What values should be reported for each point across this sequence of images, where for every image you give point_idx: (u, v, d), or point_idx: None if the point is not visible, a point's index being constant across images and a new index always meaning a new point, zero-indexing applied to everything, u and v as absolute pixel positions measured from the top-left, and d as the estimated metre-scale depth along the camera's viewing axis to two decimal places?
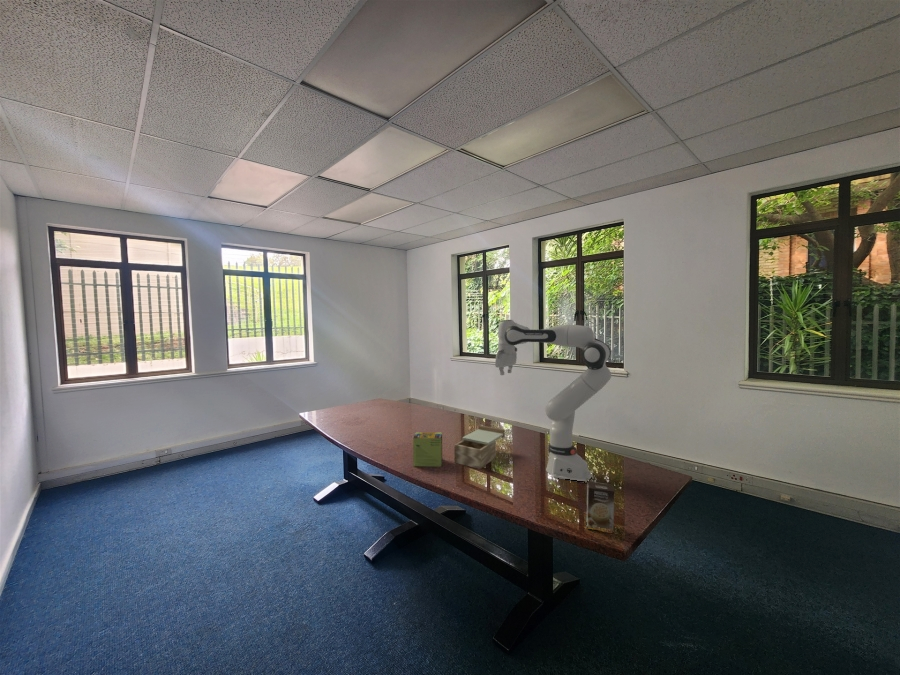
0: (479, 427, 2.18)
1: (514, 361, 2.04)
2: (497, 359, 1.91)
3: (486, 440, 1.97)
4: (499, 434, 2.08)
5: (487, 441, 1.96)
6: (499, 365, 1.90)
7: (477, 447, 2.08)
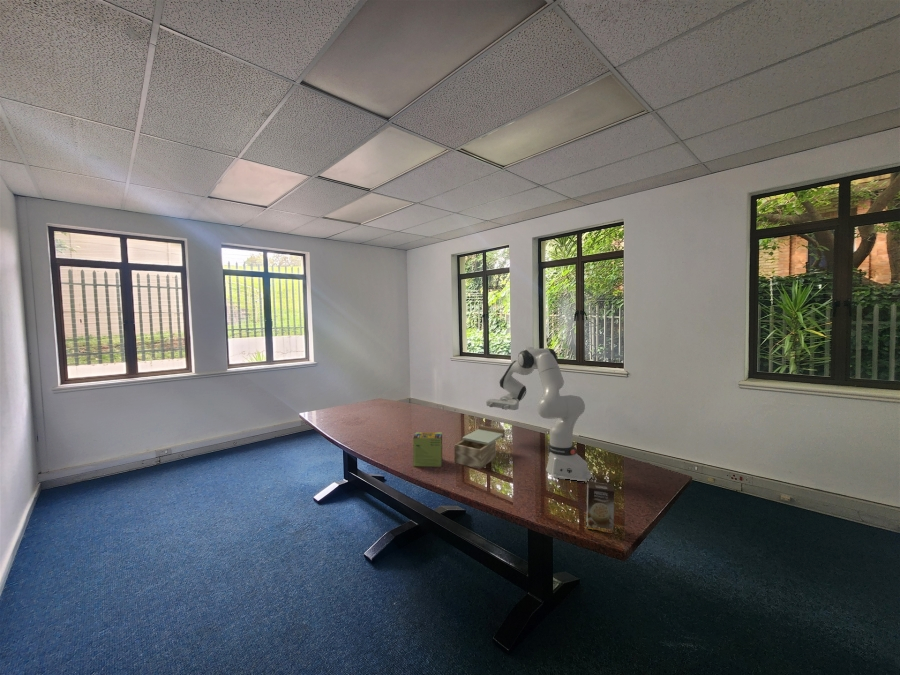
0: (479, 427, 2.18)
1: (512, 403, 2.22)
2: None
3: (486, 440, 1.97)
4: (499, 434, 2.08)
5: (487, 441, 1.96)
6: None
7: (477, 447, 2.08)
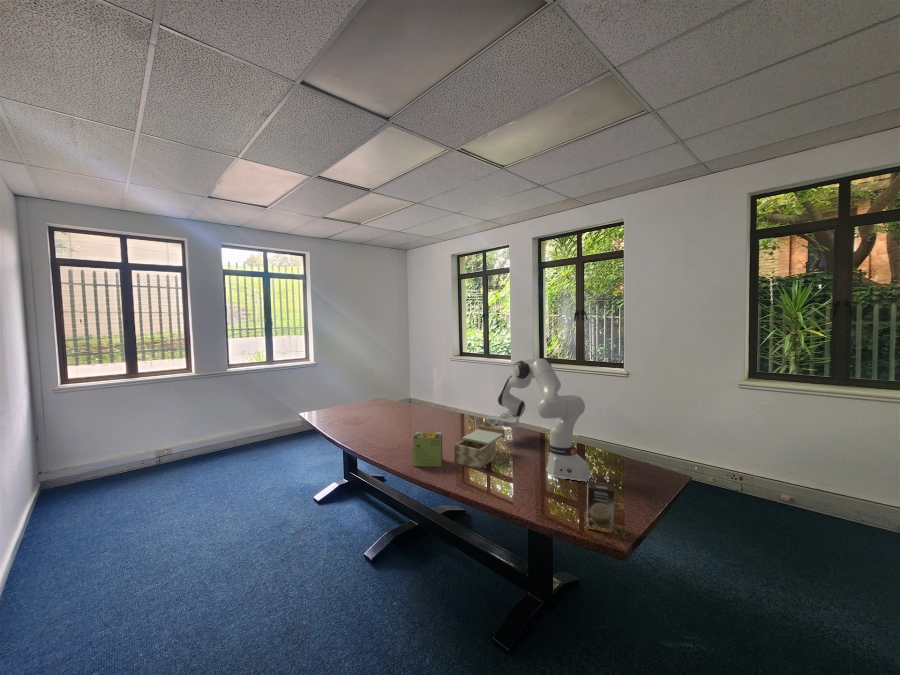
0: (479, 427, 2.18)
1: (512, 421, 2.23)
2: None
3: (486, 440, 1.97)
4: (499, 434, 2.08)
5: (487, 441, 1.96)
6: None
7: (477, 447, 2.08)
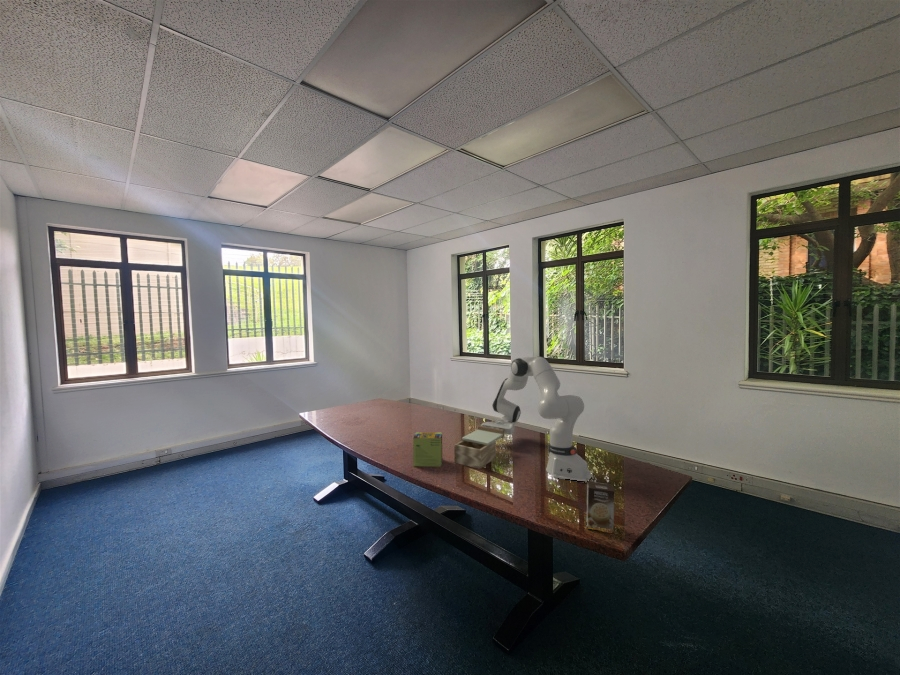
0: (478, 427, 2.17)
1: (507, 427, 2.16)
2: None
3: (486, 441, 1.97)
4: (498, 434, 2.08)
5: (486, 441, 1.95)
6: None
7: (477, 447, 2.08)
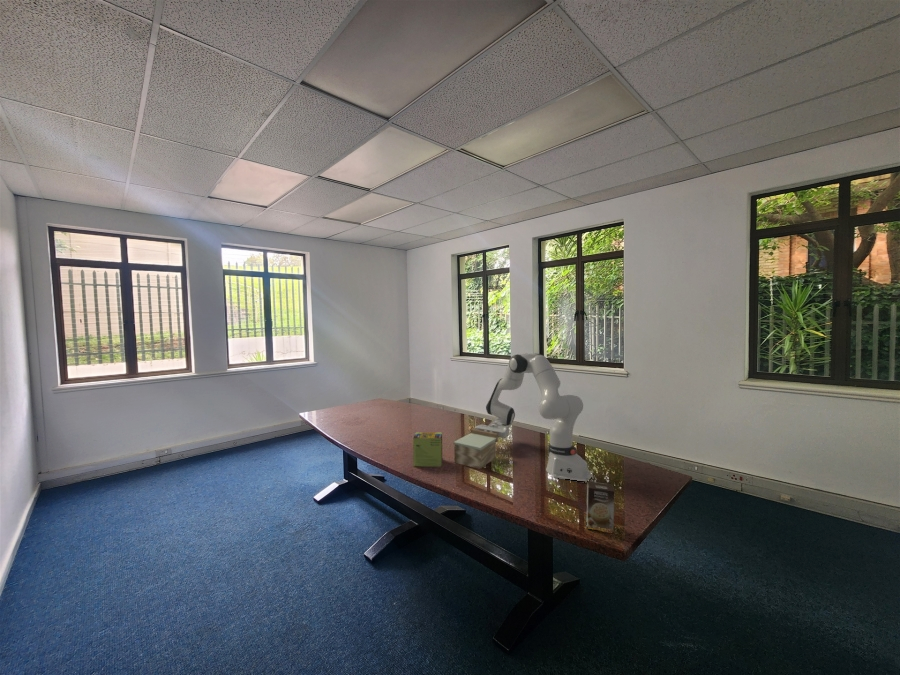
0: (472, 431, 2.10)
1: (501, 430, 2.09)
2: None
3: (478, 445, 1.90)
4: (492, 438, 2.01)
5: (479, 446, 1.89)
6: None
7: None
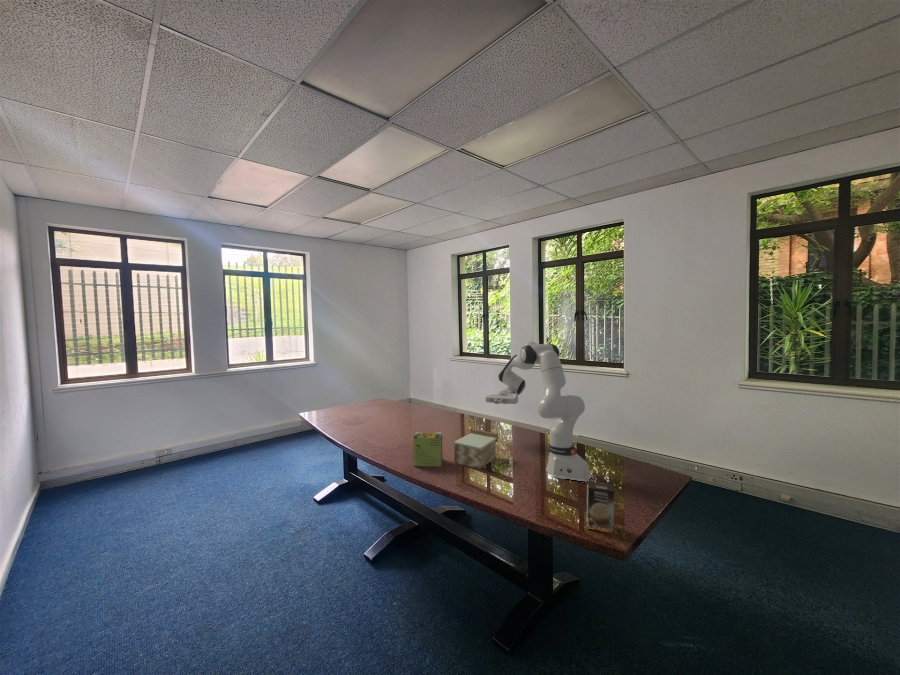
0: (472, 431, 2.10)
1: (511, 397, 2.20)
2: None
3: (479, 445, 1.90)
4: (492, 438, 2.01)
5: (479, 446, 1.89)
6: None
7: None
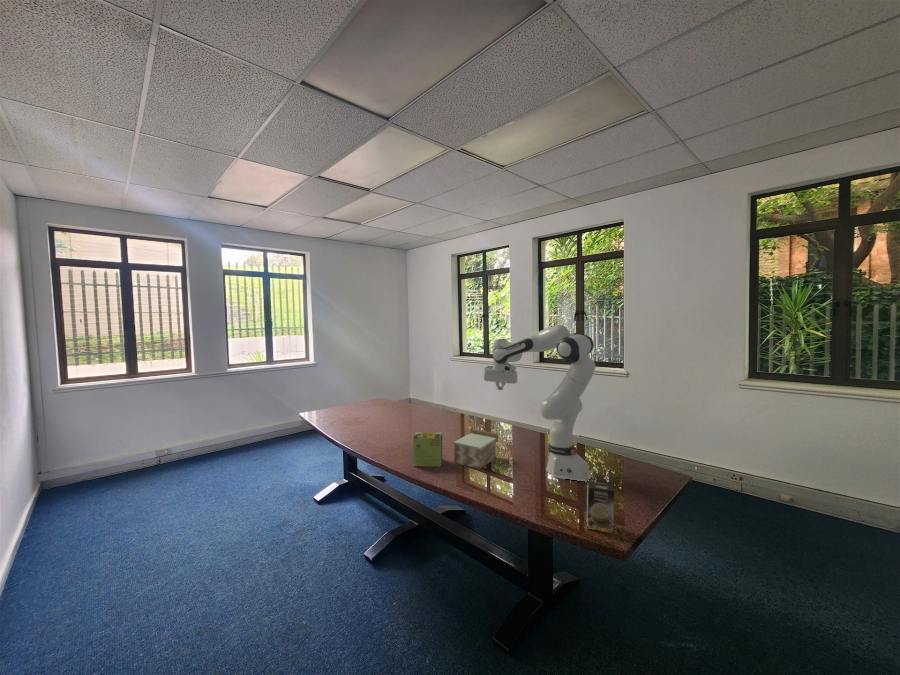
0: (472, 431, 2.10)
1: (510, 380, 2.04)
2: None
3: (479, 445, 1.90)
4: (492, 438, 2.01)
5: (479, 446, 1.89)
6: None
7: None
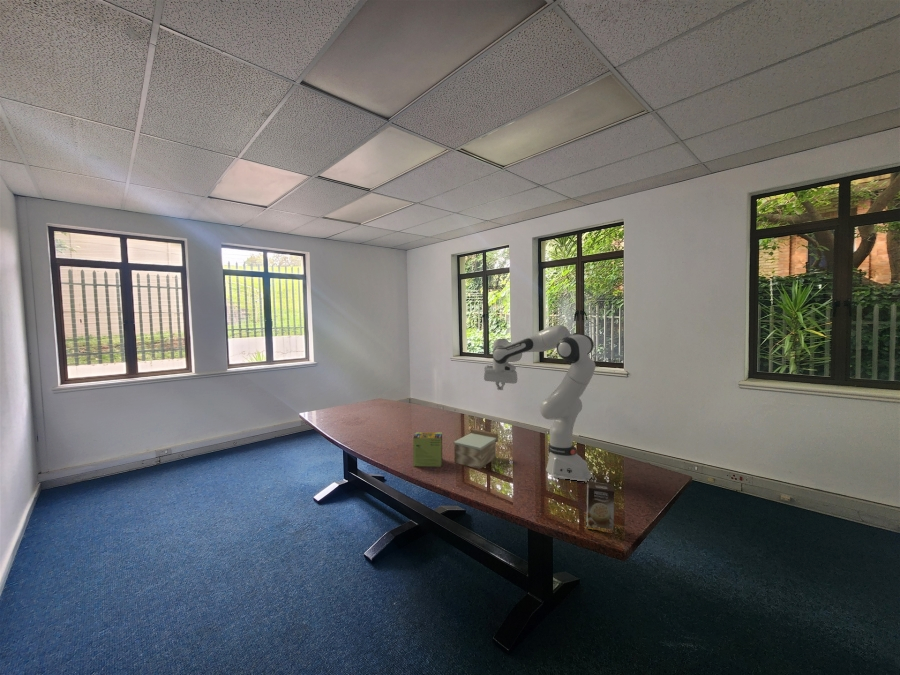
0: (472, 431, 2.10)
1: (510, 380, 2.04)
2: None
3: (479, 445, 1.90)
4: (492, 438, 2.01)
5: (479, 446, 1.89)
6: None
7: None
